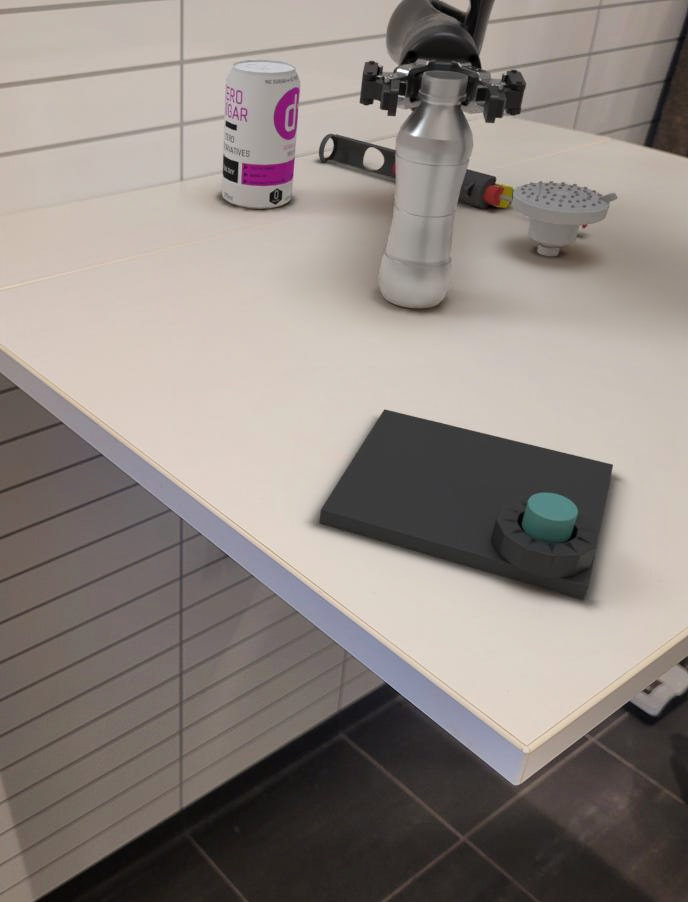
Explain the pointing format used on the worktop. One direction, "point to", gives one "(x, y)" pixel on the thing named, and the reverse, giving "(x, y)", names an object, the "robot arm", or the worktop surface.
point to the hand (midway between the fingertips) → (442, 106)
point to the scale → (470, 500)
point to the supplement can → (260, 133)
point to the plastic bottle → (427, 193)
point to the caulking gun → (351, 151)
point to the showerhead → (558, 212)
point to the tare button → (549, 517)
